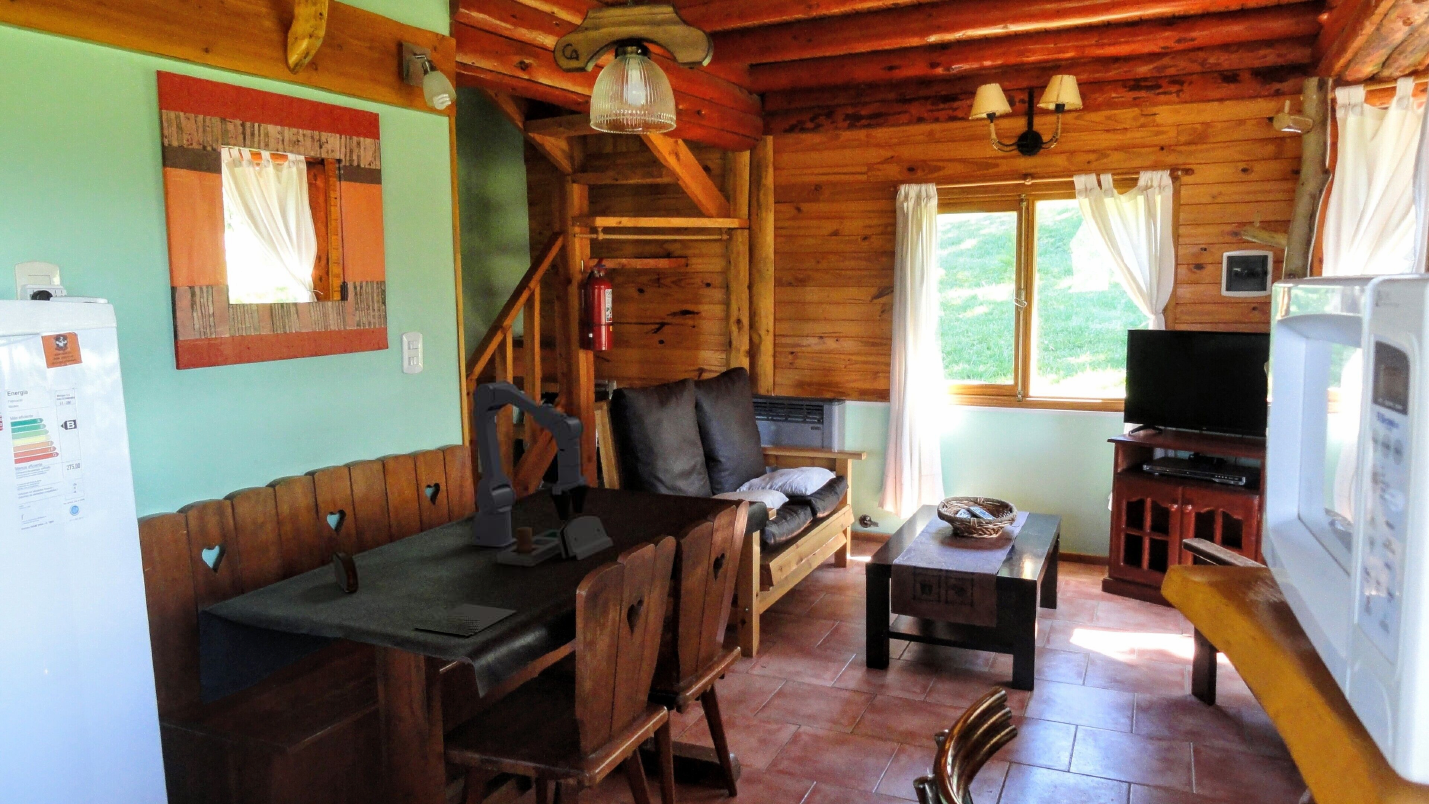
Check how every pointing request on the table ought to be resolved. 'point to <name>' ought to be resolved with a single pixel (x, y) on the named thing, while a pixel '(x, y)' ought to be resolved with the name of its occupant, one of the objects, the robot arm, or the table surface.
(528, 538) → the peg
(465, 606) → the dark grey mat
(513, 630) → the table surface
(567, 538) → the hinge
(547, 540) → the tray
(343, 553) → the tin
